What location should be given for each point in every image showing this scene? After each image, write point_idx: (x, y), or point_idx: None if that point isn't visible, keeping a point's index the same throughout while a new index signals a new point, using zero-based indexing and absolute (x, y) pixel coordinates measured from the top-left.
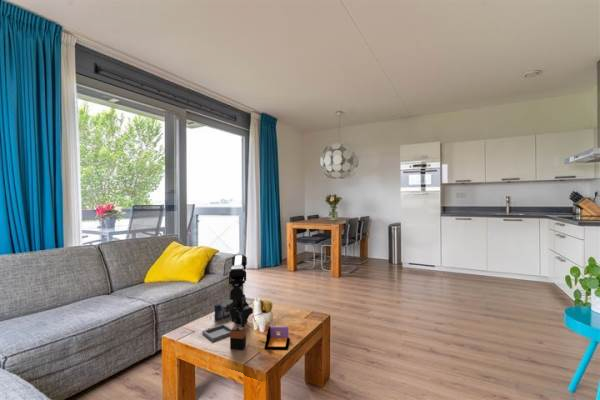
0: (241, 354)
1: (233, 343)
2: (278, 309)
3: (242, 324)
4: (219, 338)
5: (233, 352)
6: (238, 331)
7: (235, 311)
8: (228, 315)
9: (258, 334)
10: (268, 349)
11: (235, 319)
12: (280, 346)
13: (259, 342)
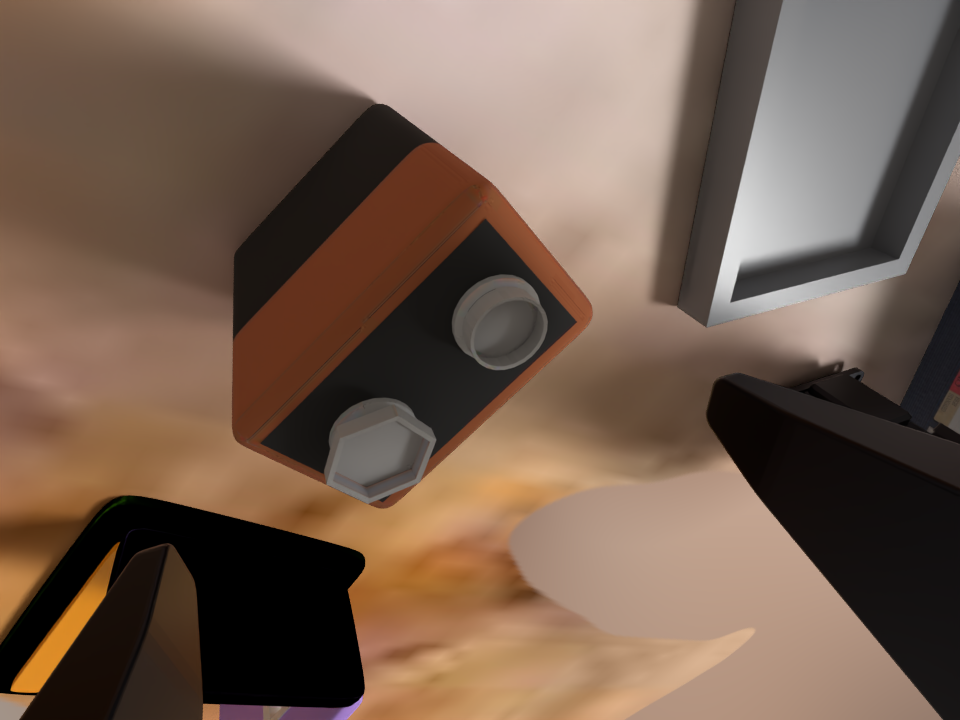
0: (90, 185)
1: (349, 164)
2: (701, 647)
3: (62, 680)
4: (731, 91)
5: (236, 96)
6: (316, 361)
7: (938, 679)
8: (954, 363)
9: (494, 497)
10: (86, 527)
11: (851, 398)
12: (36, 653)
13: None
